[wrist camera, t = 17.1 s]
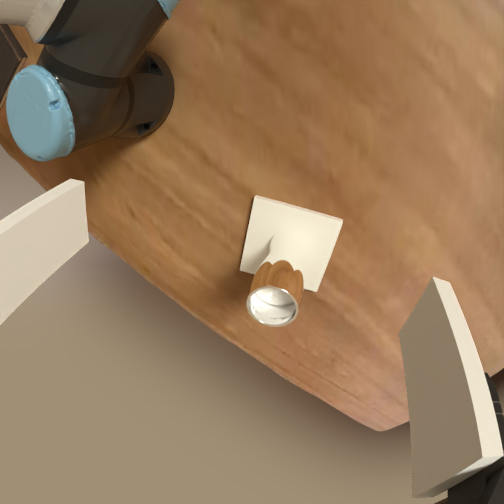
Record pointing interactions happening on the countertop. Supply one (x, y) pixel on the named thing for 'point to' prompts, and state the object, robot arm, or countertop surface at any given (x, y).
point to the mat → (297, 221)
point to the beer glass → (278, 282)
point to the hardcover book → (9, 60)
